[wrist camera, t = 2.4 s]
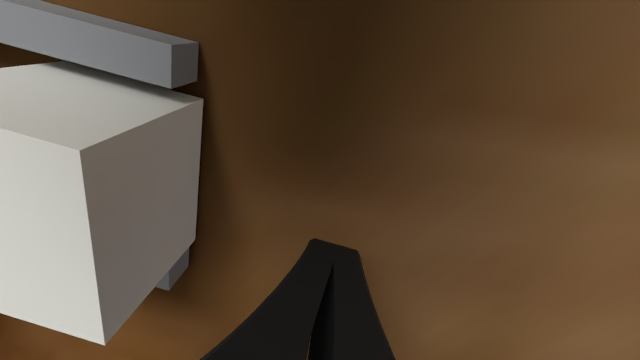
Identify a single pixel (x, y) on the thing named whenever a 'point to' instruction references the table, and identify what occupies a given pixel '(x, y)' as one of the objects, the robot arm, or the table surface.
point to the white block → (91, 194)
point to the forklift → (102, 54)
